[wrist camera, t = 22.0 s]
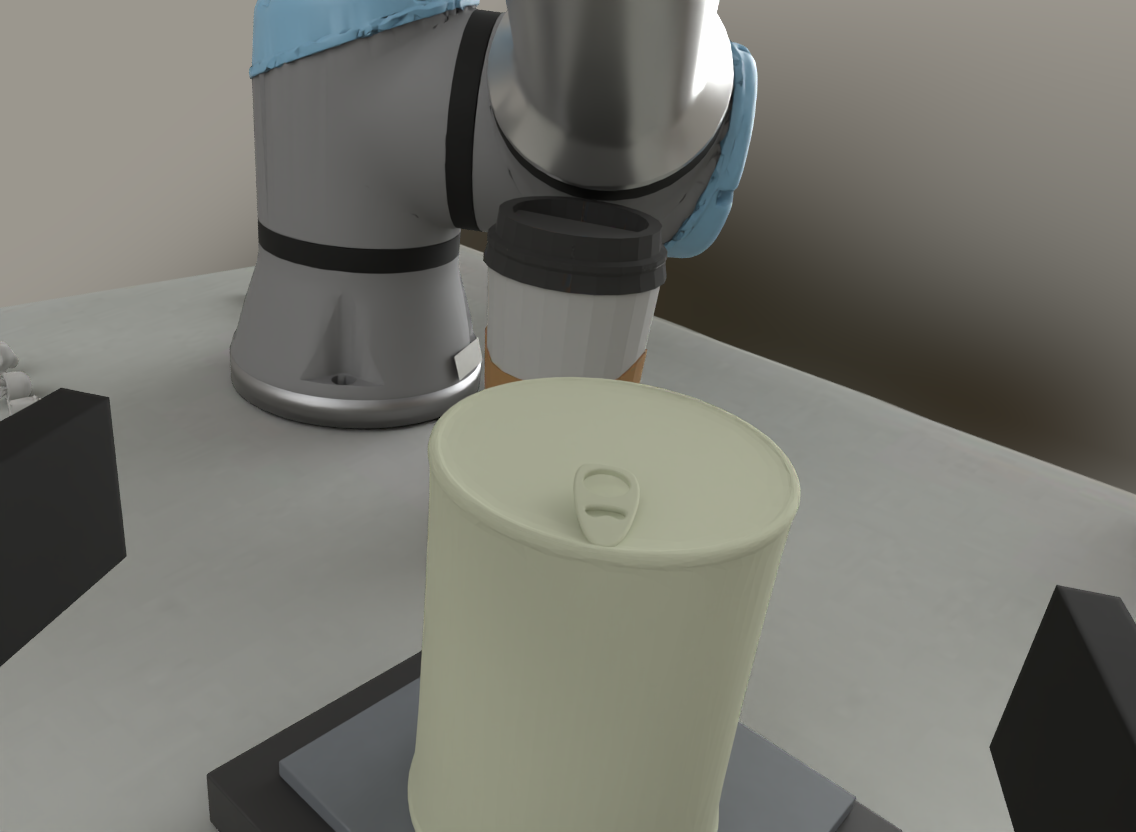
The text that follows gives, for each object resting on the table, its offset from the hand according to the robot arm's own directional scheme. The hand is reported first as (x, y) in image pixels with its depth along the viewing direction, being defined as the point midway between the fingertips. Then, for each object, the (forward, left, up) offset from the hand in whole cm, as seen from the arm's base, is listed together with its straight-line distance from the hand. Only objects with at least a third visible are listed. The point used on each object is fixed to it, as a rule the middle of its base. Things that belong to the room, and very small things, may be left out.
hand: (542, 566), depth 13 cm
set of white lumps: (-45, +7, -16) cm, 48 cm away
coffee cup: (-19, +23, -17) cm, 35 cm away
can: (-5, +8, -15) cm, 18 cm away
